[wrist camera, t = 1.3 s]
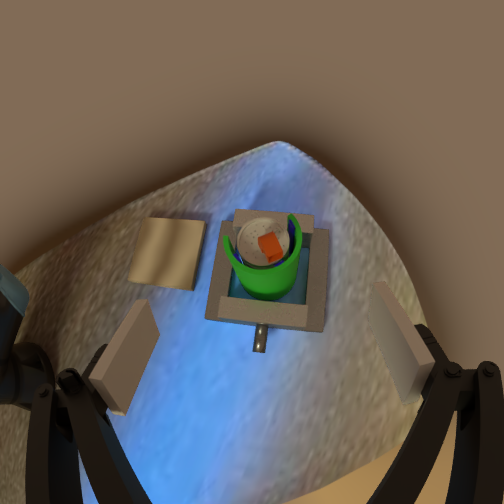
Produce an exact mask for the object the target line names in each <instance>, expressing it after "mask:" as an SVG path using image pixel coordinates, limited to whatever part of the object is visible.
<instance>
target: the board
mask: <svg viewBox="0 0 504 504" xmlns="http://www.w3.org/2000/svg"><path fill="white" fill-rule="evenodd" d="M206 226H207V224H206V222H205V221H199V220H183V219H167V218H149V217H144V220H143V223H142V226H141V230H140V233H139V237H138V241H137V244H136V248H135V252H134V256H133V259H132V263H131V267H130V272H129V276H128V280H129V281H131V282H136V283H142V284H149V285H155V286H162V287H168V288H175V289H182V290H189V291H194V286H195V281H196V276H197V270H198V265H199V260H200V255H201V250H202V245H203V240H204V235H205V231H206Z"/></svg>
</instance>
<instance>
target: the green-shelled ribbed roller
mask: <svg viewBox="0 0 504 504" xmlns="http://www.w3.org/2000/svg"><path fill="white" fill-rule="evenodd" d="M223 245H224V249H225V252H226V254H227V256H228V258H229V260H230V262H231V264H232V266H233V268H234V270H235V272H236V274H237V276H238V278H239V280H240V282H241V284H242V286H243V288H244V289H245V290H246V292H247V293H248V294H250V295H251V296H252V297H254V298H256V299H259V300H263V301H272V300H276V299H279V298H281V297H283V296H285V295H286V294H287V293H288V292H289V291H290V290H291V289H292V287H293V285H294V283H295V280H296V275H297V269H298V263H299V257H300V251H301V245H302V231H301V227H300V225H299V223H298V221H297V219H296V218H295V216H294V215H293V214H292V213H291V214H290V215H288V217H287V230H286V228H285V227H284V226H283V225H282V224H281V223H280V222H279V221H277V220H275V219H272V218H267V217H260V218H255V219H253V220H251V221H249V222H247V223H246V224H245V225H244V226H243V227H242V228H241V230H240V231H239V233H238V236H237V248H238V251H239V253H240V256H241V259H242V261H243V264H244V265H243V264H242V262H241V260H240V258H239V257H238V255H237V254H236V253H235V251H234V248H233V246H232V243H231V241H230V239H229V236H223Z"/></svg>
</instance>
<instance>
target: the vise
mask: <svg viewBox="0 0 504 504" xmlns="http://www.w3.org/2000/svg"><path fill="white" fill-rule="evenodd" d="M290 214H291V213H284V212H272V211H259V210H246V209H235V215H234V220H233V221H222V223H221V228H220V233H219V238H218V244H217V249H216V255H215V260H214V266H213V271H212V277H211V283H210V288H209V294H208V300H207V306H206V312H205V319H207V320H213V321H220V322H227V323H234V324H242V325H250V326H256V329H255V337H254V344H253V351H252V352H260V353H265V350H266V342H267V335H268V328H276V329H286V330H297V331H308V332H320V333H322V332H323V326H324V315H325V302H326V288H327V271H328V248H329V230H327V229H316V228H314V215H306V214H296V213H292V214H293V215H294V216H295V218H296V219H297V221H298V223H299V225H300V227H301V231H302V245H301V248H309V261H308V275H307V287H306V299H305V305H299V304H289V303H279V302H269V301H260V300H251V299H242V298H234V297H229V294H230V288H231V281H232V275H233V269H234V268H233V266H232V264H231V262H230V260H229V258H228V256H227V254H226V252H225V249H224V245H223V236H229V239H230V241H231V243H232V246H233V248H234V251H235V253H236V250H237V236H238V233H239V231H240V230H241V228H242V227H243V226H244V225H245V224H246V223H247V222H249V221H251V220H253V219H255V218H260V217H267V218H272V219H275V220H277V221H279V222H280V223H281V224H282V225H283V226H284V227H285V228H286V230H287V217H288V215H290Z"/></svg>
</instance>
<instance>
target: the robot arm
mask: <svg viewBox="0 0 504 504" xmlns="http://www.w3.org/2000/svg"><path fill="white" fill-rule="evenodd" d="M28 302H29V293H28V291H27V289H26V288H25V286H24V285H23V284H22V283H21V282H20V281H19V280H18V279H17V278H16V277H15V276H14V275H13V274H12V273H11V272H9V271H8V270H7V269H6V268H5V267H3V266H2V265H1V264H0V404H13V405H15V406H18V407H20V408H23V409H26V410H28V411H31V415H30V422H29V430H28V440H27V452H26V475H25V491H26V504H83V498H82V490H81V482H80V472H79V459H78V450H79V453H80V456H81V459H82V462H83V465H84V468H85V471H86V474H87V476H88V479H89V482H90V484H91V487H92V489H93V492H94V494H95V496H96V499H97V501H98V503H99V504H152V502H151V501H150V499H149V497H148V496H147V494H146V492H145V491H144V489H143V487H142V485H141V484H140V482H139V480H138V478H137V476H136V475H135V473H134V471H133V469H132V467H131V465H130V463H129V461H128V459H127V457H126V455H125V453H124V451H123V449H122V447H121V445H120V442H119V440H118V438H117V436H116V433H115V431H114V429H113V426H112V424H111V422H110V419H109V417H108V415H107V414H106V410H107V408H109V409H110V410H111V412H112V413H113V414H116V415H122V416H126V413H127V411H128V408H129V406H130V404H131V401H132V399H133V396H134V394H135V391H136V389H137V387H138V384H139V382H140V379H141V377H142V375H143V372H144V370H145V368H146V365H147V363H148V361H149V359H150V356H151V354H152V352H153V349H154V347H155V345H156V343H157V340H158V338H159V336H160V333H159V331H158V328H157V325H156V322H155V319H154V317H153V314H152V311H151V308H150V305H149V302H148V299H144V300H136V302H135V303H134V305H133V306H132V308H131V309H130V311H129V312H128V314H127V315H126V317H125V319H124V320H123V322H122V323H121V325H120V326H119V328H118V330H117V331H116V333H115V334H114V336H113V338H112V339H111V341H110V342H109V344H104V345H102V346H101V347H100V348H99V349H98V350H97V352H96V353H95V355H94V357H93V358H92V360H91V363H89V364H88V366H87V368H86V369H85V371H84V373H83V374H82V376H80V375H79V373H78V372H77V370H76V369H74V368H68V369H65V370H63V371H61V372H60V373H59V374H58V376H57V378H56V383H57V384H58V385H59V387H60V388H61V389H60V390H55V381H54V374H53V370H52V366H51V364H50V361H49V359H48V357H47V355H46V354H45V352H44V351H43V350H42V349H41V348H40V347H39V346H38V345H36V344H33V343H28V342H20V343H17V344H14V341H15V339H16V336H17V333H18V330H19V328H20V325H21V322H22V320H23V317H24V316H25V310H26V307H27V305H28ZM368 323H369V325H370V327H371V329H372V331H373V334H374V336H375V338H376V340H377V343H378V345H379V347H380V350H381V352H382V354H383V356H384V359H385V361H386V364H387V366H388V368H389V371H390V373H391V376H392V378H393V380H394V383H395V385H396V388H397V390H398V393H399V396H400V398H401V401H402V403H403V405H406V404H410V403H413V402H417V401H418V399H419V397H420V395H422V397H423V399H424V401H423V403H422V405H421V406H420V408H419V410H418V412H417V413H418V414H417V416H416V418H415V421H414V423H413V425H412V427H411V429H410V431H409V433H408V435H407V437H406V439H405V441H404V443H403V445H402V447H401V449H400V450H399V452H398V454H397V456H396V458H395V460H394V461H393V463H392V465H391V466H390V468H389V470H388V471H387V473H386V475H385V477H384V478H383V479H382V481H381V483H380V484H379V486H378V487H377V489H376V490H375V492H374V493H373V495H372V496H371V498H370V499H369V501H368V502H367V503H366V504H414V502H415V501H416V499H417V498H418V496H419V494H420V492H421V490H422V488H423V486H424V484H425V482H426V480H427V478H428V476H429V474H430V472H431V470H432V468H433V465H434V463H435V461H436V459H437V456H438V454H439V451H440V449H441V446H442V444H443V441H444V439H445V436H446V434H447V431H448V428H449V425H450V422H451V419H452V416H453V413H454V411H457V427H456V439H455V449H454V458H453V465H452V471H451V477H450V483H449V488H448V493H447V497H446V502H445V504H502V501H503V494H504V395H503V388H502V380H501V374H500V370H499V367H498V366H497V365H496V364H495V363H493V362H490V361H483V362H482V363H480V364H479V366H478V368H477V369H467V370H464V369H462V367H461V366H460V365H459V364H457V363H455V362H450V361H449V360H448V358H447V356H446V355H445V353H444V351H443V350H442V348H441V347H440V345H439V343H437V340H436V339H435V337H434V336H433V334H432V333H431V331H430V330H429V329H428V328H427V327H426V326H424V325H423V324H418V325H413V324H412V322H411V320H410V319H409V317H408V316H407V314H406V313H405V311H404V309H403V308H402V306H401V305H400V303H399V302H398V300H397V299H396V297H395V296H394V294H393V293H392V291H391V290H390V288H389V287H388V285H387V284H386V283H385V281H384V282H376V283H373V285H372V294H371V302H370V310H369V317H368Z"/></svg>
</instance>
